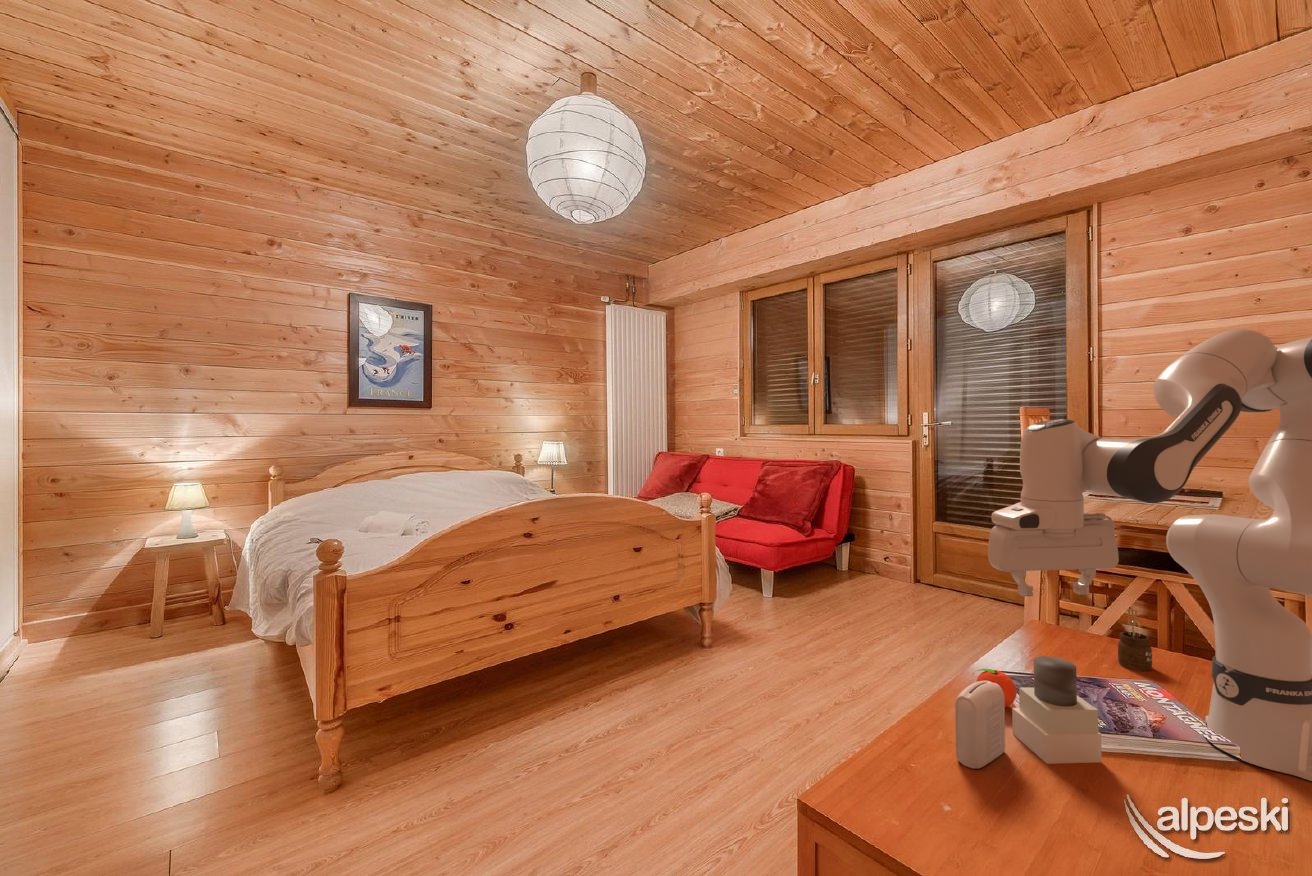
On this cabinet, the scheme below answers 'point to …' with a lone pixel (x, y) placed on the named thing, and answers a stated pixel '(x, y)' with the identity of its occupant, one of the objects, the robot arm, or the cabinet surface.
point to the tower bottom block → (1056, 742)
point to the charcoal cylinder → (1055, 681)
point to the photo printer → (980, 724)
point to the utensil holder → (1134, 648)
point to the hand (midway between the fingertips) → (1053, 594)
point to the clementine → (1000, 683)
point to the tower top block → (1059, 714)
